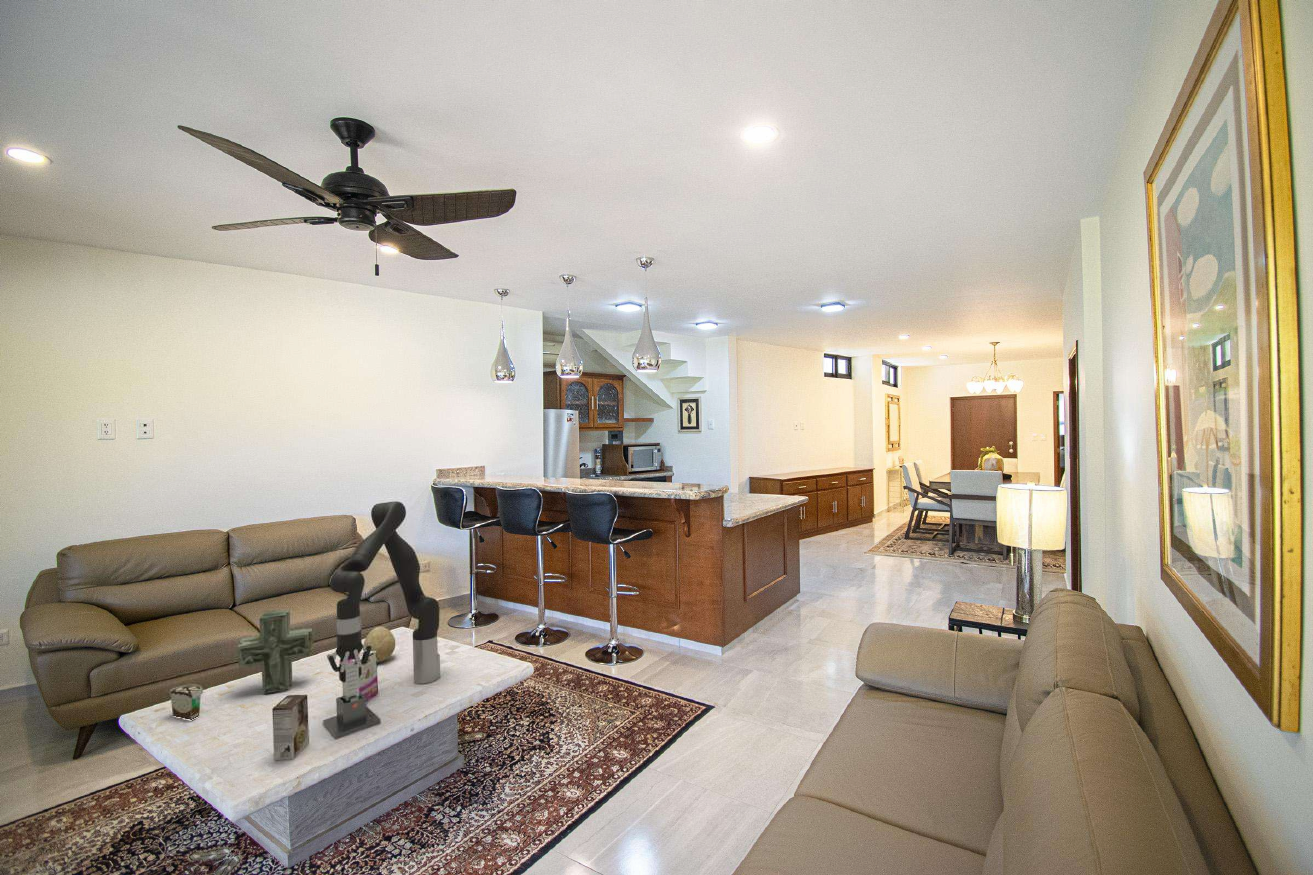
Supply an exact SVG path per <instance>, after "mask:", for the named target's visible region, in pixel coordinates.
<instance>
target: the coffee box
mask: <svg viewBox="0 0 1313 875" xmlns="http://www.w3.org/2000/svg"><path fill="white" fill-rule="evenodd" d="M308 706H309V705H308V694H290V695H288V694H287V695H286V696H285V697H284V698H282V700H280V701H279V702H278V703H276V705H275V706H274V707H273V708H271V709H272V712H271V713H272V737H273V738H272V741H273V742H272V743H273V745H272V746H273V760H274V761H279V760H281V761H282V760H294V759H296V758H297V757H298V756H299V755H300V753H302V752H303V751H304V749H305V748H306V747H307V746H308V745H309V744H310V735H309V734H310V730H309V728H310V727H309V707H308Z"/></svg>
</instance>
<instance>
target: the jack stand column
mask: <svg viewBox="0 0 1313 875" xmlns="http://www.w3.org/2000/svg"><path fill="white" fill-rule="evenodd" d="M344 671H345V682H344V683H343V682H342V681H341V683H342V696H343V697H342V698H343V702H344V703H347V702H350V698H354V697H357V696H358V699H359V698H360V696H359V668H358V663H356V662H355V661H352V662H349V663H347V664H346V666H345V670H344Z"/></svg>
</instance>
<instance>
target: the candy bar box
mask: <svg viewBox="0 0 1313 875" xmlns="http://www.w3.org/2000/svg"><path fill="white" fill-rule="evenodd" d="M363 653H364V651H363V652H360V653H359V657H360V661H361V659H362V656H363ZM352 661H354V659H350V660H349V661H347V663H349V662H352ZM361 670H362V674H361V676H360V678H359V692H360V693H361V694H363V695H364V696H365V697H366V702H367V701H369V700H370V699H372V698H373V697H374V696H376V695H377V694H379V684H378V681H379V680H378V679H379V678H378V662H377V655H376V651H370V654H369V658H368V661H367V663H366V664H363V665H362V667H361Z"/></svg>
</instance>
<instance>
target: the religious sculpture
mask: <svg viewBox="0 0 1313 875" xmlns="http://www.w3.org/2000/svg"><path fill="white" fill-rule="evenodd" d="M313 637H314V634H313V628H302V629H294V630H291V610H290V608H289V609H277V610H276V609H275V610H269V611H264V612H263V613H262V615H261V616H260V617H259V635H254V636H249V637H244V638H241V639H240V641H239V644H238V645H237V658H238V660H237V661H238V668H239V669H247V668H253V667H256V666H260V667H261V681H262V695H270V694H277V693H282V692H287V691H289V689H290V688H291V686H292V685H293V679H294V678H293V659H297V658H302V657H308V656H310V653H312V652H313V650H314V642H313V640H314V639H313Z"/></svg>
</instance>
